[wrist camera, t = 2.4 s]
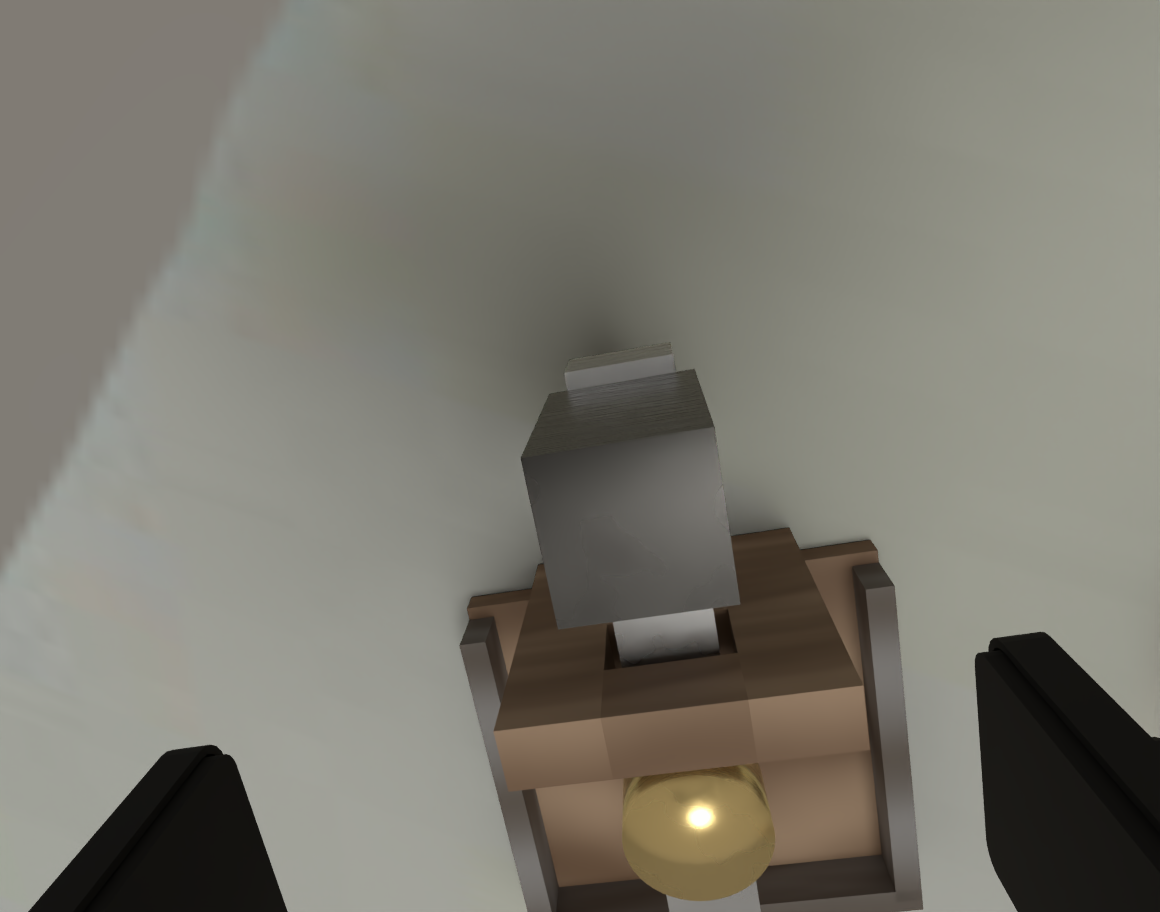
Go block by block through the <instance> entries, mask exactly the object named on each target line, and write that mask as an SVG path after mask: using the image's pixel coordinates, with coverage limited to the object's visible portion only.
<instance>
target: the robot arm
mask: <svg viewBox="0 0 1160 912" xmlns="http://www.w3.org/2000/svg"><path fill="white" fill-rule="evenodd" d="M975 675H976V690H977V705H978V721H979V736H980V751H981V766H982V782H983V797H984V812H985V827H986V840H987V847H988V851H989V855H990V858H991V862H992V864H993V867H994V869H995V871H996V874H997V876H998V878H999V879H1000V881H1001V883H1002V885H1003V886H1004V888H1005V890H1006V892H1007V894H1008V895H1009V897H1010V899H1011V901H1012V902H1013V904H1014V906H1015V908H1016V910H1017V911H1018V912H1160V738H1157V737H1151V736H1150V735H1149V734H1148V733H1147V732H1146V731H1144V730H1143V729H1142V728H1141V727H1140V726H1139V725H1138V724H1137V723H1136V722H1135V721H1134V720H1133V719H1132V718H1131V717H1130V716H1129V715H1128V714H1127V713H1126V712H1125V711H1124V710H1123V709H1122V708H1121V707H1120V706H1119V705H1118V704H1117V703H1116V702H1115V701H1114V700H1113V699H1112V698H1111V697H1110V696H1109V695H1108V694H1107V693H1106V692H1105V691H1104V690H1103V689H1102V688H1101V687H1100V686H1099V685H1098V684H1097V683H1096V682H1095V681H1094V680H1093V679H1092V678H1091V677H1090V676H1089V675H1088V674H1087V673H1086V672H1085V671H1084V670H1083V669H1082V668H1081V667H1080V666H1079V665H1078V664H1077V663H1076V662H1075V661H1074V660H1073V659H1072V658H1071V657H1070V656H1069V655H1068V654H1067V653H1066V652H1065V651H1064V650H1063V649H1062V648H1061V647H1060V646H1059V645H1058V644H1057V643H1056V642H1055V641H1054V640H1053V639H1052V638H1051V637H1050V636H1049V635H1047V634H1046V633H1045V632H1036V633H1029V634H1022V635H1014V636H1007V637H999V638H993V639H992V640H991V641H990V644H989V652H982V653H978V654H977V655H976V658H975ZM29 912H287V909H286V906H285V903H284V900H283V897H282V894H281V892H280V889H279V886H278V883H277V880H276V877H275V874H274V871H273V869H272V866H271V863H270V860H269V857H268V854H267V851H266V848H265V846H264V843H263V840H262V837H261V834H260V831H259V828H258V825H257V823H256V820H255V817H254V814H253V811H252V808H251V805H250V802H249V800H248V797H247V794H246V791H245V788H244V785H243V782H242V779H241V776H240V774H239V771H238V768H237V765H236V763H235V761H234V759H233V758H232V757H231V756H230V755H227V754H224V755H223V753H222V751H221V750H220V749H219V748H218V747H217V746H214V745H205V746H198V747H191V748H183V749H176V750H171V751H167V752H166V753H165V754H164V755H162V756H161V757H160V758H159V760H158V761H157V762H156V763H155V764H154V765H153V767H152V768H151V769H150V770H149V771H148V772H147V774H146V775H145V776H144V777H143V778H142V779H141V781H140V782H139V783H138V784H137V785H136V786H135V788H134V789H133V790H132V791H131V792H130V793H129V795H128V796H127V797H126V798H125V799H124V800H123V802H122V803H121V804H120V805H119V806H118V807H117V809H116V810H115V811H114V812H113V813H112V814H111V816H110V817H109V818H108V819H107V820H106V822H105V823H104V824H103V825H102V826H101V827H100V829H99V830H98V831H97V832H96V833H95V834H94V836H93V837H92V838H91V839H90V840H89V841H88V843H87V844H86V845H85V846H84V847H83V848H82V850H81V851H80V852H79V853H78V854H77V855H76V857H75V858H74V859H73V860H72V861H71V862H70V864H69V865H68V866H67V867H66V868H65V869H64V871H63V872H62V873H61V874H60V875H59V876H58V878H57V879H56V880H55V881H54V882H53V883H52V885H51V886H50V887H49V888H48V889H47V890H46V892H45V893H44V894H43V895H42V896H41V897H40V899H39V900H38V901H37V902H36V903H35V904H34V906H33V907H32V908H31V909H30V910H29Z"/></svg>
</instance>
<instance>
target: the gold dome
mask: <svg viewBox="0 0 1160 912" xmlns="http://www.w3.org/2000/svg"><path fill="white" fill-rule="evenodd" d="M622 843H623V849H624V853H625V856H626V858H627V861H628V863H629V865H630V866H631V868H632V869H633V871H634V872H635V873H636V874H637V875H638V877H639V878H641V879H642V880H643V881H644V882H645V883H646V884H648V885H649V886H650V887H652V888H653V889H655V890H657V891H659V892H661V893H663V894H666V895H668V896H671V897H674V898H678V899H683V900H689V901H710V900H717V899H721V898H725V897H728V896H731V895H734V894H736V893H738V892H740V891H742V890H744V889H746V888H747V887H748V886H750V885H751V884H753V883H754V882H755V881H756V880H757V879H758V878H759V877H760V876H761V875H762V874H763V873H764V871H765V870H766V868H767V867H768V865H769V863H770V861H771V859H772V856H773V852H774V849H775V831H774V826H773V822H772V817H771V813H770V808H769V804H768V799H767V795H766V790H765V786H764V782H763V777H762V773H761V769H760V766H759V764H758V763H753V764H744V765H736V766H727V767H718V768H710V769H701V770H693V771H684V772H675V773H667V774H658V775H649V776H641V777H632V778H623V817H622Z"/></svg>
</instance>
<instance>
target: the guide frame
mask: <svg viewBox="0 0 1160 912" xmlns="http://www.w3.org/2000/svg"><path fill="white" fill-rule="evenodd" d="M731 543H732V550H733V557H734V563H735V570H736V577H737V584H738V591H739V597H740V604H741V605H734V606H726V607H719V608H713V611H714V617H715V623H716V630H717V636H718V642H719V649H720V655H718V656H710V657H703V658H695V659H688V660H680V661H672V662H665V663H657V664H649V665H642V666H634V667H626V668H622V667H621V662H620V657H619V651H618V646H617V641H616V636H615V631H614V626H613V622H610V623H603V624H595V625H588V626H581V627H574V628H566V629H559V630H558V627H557V623H556V618H555V614H554V609H553V604H552V600H551V595H550V591H549V586H548V581H547V577H546V572H545V568H544V564H539V565H538V567H537V571H536V575H535V579H534V582H533V586H532V589H526V590H519V591H512V592H505V593H498V594H491V595H484V596H477V597H472V598H471V600H470V603H469V605H468V607H467V611H468V615H469V619H470V621H469V623H468V626H467V628H466V631H465V633H464V636H463V638H462V641H461V643H460V649H461V653H462V657H463V661H464V665H465V669H466V672H467V676H468V680H469V684H470V688H471V692H472V696H473V700H474V704H475V708H476V712H477V715H478V719H479V723H480V727H481V731H482V735H483V739H484V743H485V747H486V751H487V754H488V758H489V762H490V766H491V770H492V774H493V778H494V782H495V786H496V790H497V794H498V797H499V801H500V805H501V809H502V813H503V817H504V821H505V825H506V829H507V833H508V837H509V840H510V844H511V848H512V852H513V856H514V860H515V864H516V868H517V872H518V876H519V879H520V883H521V887H522V891H523V895H524V899H525V903H526V907H527V911H528V912H669V906H668V901H667V896H666V894H663V893H661V892H659V891H657V890H655V889H653V888H652V887H650V886H649V885H648V884H646V883H645V882H644V881H643V880H642V879H641V878H639V877H638V875H637V874H636V873H635V872H634V871H633V869H632V868H631V866H630V865H629V863H628V861H627V858H626V856H625V853H624V849H623V843H622V817H623V778H632V777H641V776H649V775H658V774H667V773H675V772H684V771H693V770H701V769H710V768H718V767H727V766H736V765H744V764H753V763H758V764H759V766H760V769H761V773H762V777H763V782H764V786H765V790H766V795H767V799H768V804H769V808H770V813H771V817H772V822H773V826H774V831H775V849H774V852H773V856H772V859H771V861H770V863H769V865H768V867H767V868H766V870H765V871H764V873H763V874H762V875H761V876H760V877H759V878H758V879H757V880H756V884H757V890H758V896H759V903H760V909H761V912H900V911H911V910H921V909H923V901H922V890H921V879H920V868H919V856H918V845H917V834H916V822H915V811H914V800H913V789H912V777H911V766H910V755H909V744H908V732H907V721H906V710H905V699H904V687H903V676H902V665H901V654H900V642H899V631H898V620H897V608H896V597H895V586H894V584H893V583H892V581H891V580H890V578H889V577H888V575H887V574H886V572H885V571H884V569H883V568H882V566H881V565H880V563H879V560H878V550H877V549H876V547H875V546H874V544H873V543H872V541H871V540H866V541H860V542H853V543H846V544H839V545H832V546H825V547H818V548H811V549H804V550H800V549H799V547H798V545H797V543H796V541H795V539H794V537H793V535H792V532H791V530H790V528H784V529H777V530H770V531H764V532H757V533H750V534H743V535H736V536H731Z"/></svg>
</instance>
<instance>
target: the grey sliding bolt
mask: <svg viewBox="0 0 1160 912" xmlns="http://www.w3.org/2000/svg"><path fill="white" fill-rule="evenodd" d="M564 376H565V381H566V386H567V391H563V392H557V393H551V394H549V396H548V398H547V401H546V403H545V405H544V407H543V410H542V412H541V414H540V416H539V419H538V421H537V423H536V425H535V427H534V430H533V432H532V434H531V436H530V439H529V441H528V443H527V445H526V448H525V450H524V452H523V454H522V456H521V462H522V466H523V471H524V476H525V480H526V485H527V489H528V494H529V499H530V503H531V508H532V512H533V517H534V522H535V526H536V531H537V535H538V540H539V545H540V549H541V554H542V558H543V563H544V568H545V572H546V577H547V581H548V586H549V591H550V595H551V600H552V604H553V609H554V614H555V618H556V623H557V627H558V630H559V629H566V628H574V627H581V626H588V625H595V624H603V623H610V622H613V626H614V631H615V636H616V641H617V646H618V651H619V657H620V662H621V667H622V668H626V667H634V666H642V665H649V664H657V663H665V662H672V661H680V660H688V659H695V658H703V657H710V656H718V655H720V649H719V642H718V636H717V630H716V623H715V617H714V611H713V608H719V607H726V606H734V605H741V604H740V597H739V591H738V584H737V577H736V570H735V563H734V557H733V550H732V543H731V536H730V529H729V523H728V516H727V509H726V502H725V495H724V489H723V482H722V475H721V468H720V461H719V455H718V448H717V441H716V434H715V427H714V424H713V421H712V418H711V415H710V413H709V410H708V407H707V404H706V401H705V398H704V395H703V392H702V389H701V387H700V384H699V381H698V378H697V375H696V372H695V369H691V370H685V371H679V372H676V369H675V363H674V357H673V352H672V347H671V343H670V342H667V343H662V344H656V345H650V346H644V347H639V348H633V349H627V350H622V351H616V352H610V353H605V354H599V355H593V356H587V357H582V358H576V359H570V360H569V362H568V364H567V367H566V369H565V372H564ZM666 896H667V901H668V906H669V912H761V909H760V903H759V896H758V890H757V884H756V881H755V882H754V883H753V884H751V885H750V886H748V887H747V888H746V889H744V890H742V891H740V892H738V893H736V894H734V895H731V896H728V897H725V898H721V899H717V900H710V901H689V900H683V899H678V898H674V897H671V896H668V895H666Z"/></svg>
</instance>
